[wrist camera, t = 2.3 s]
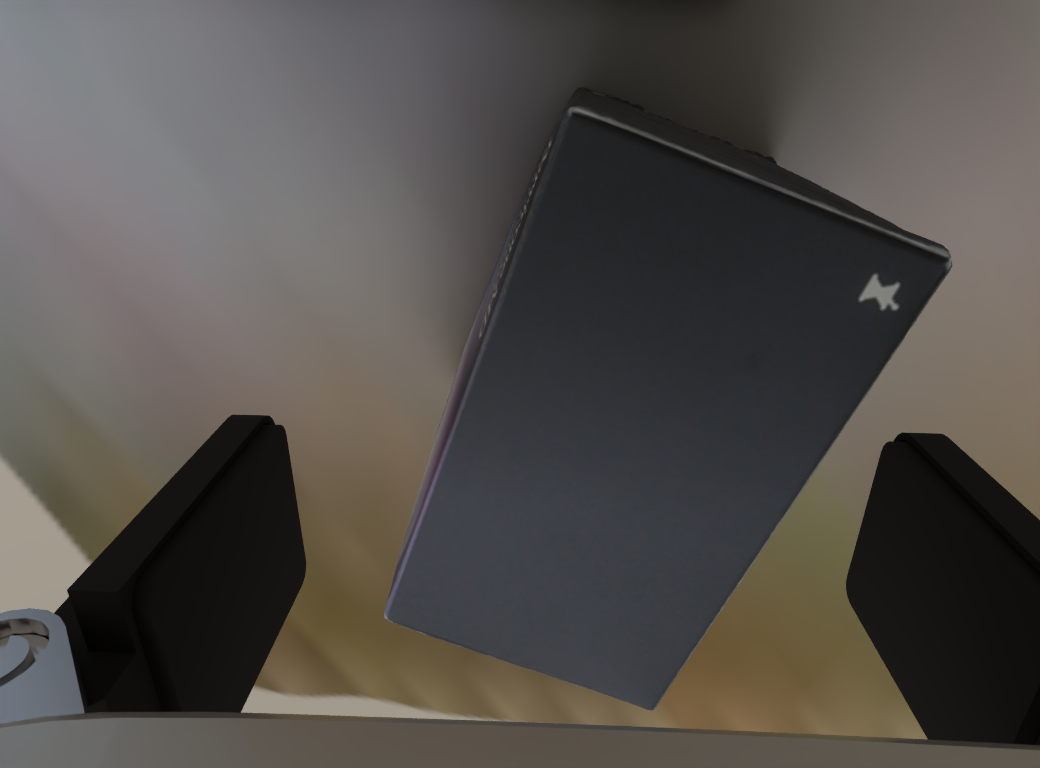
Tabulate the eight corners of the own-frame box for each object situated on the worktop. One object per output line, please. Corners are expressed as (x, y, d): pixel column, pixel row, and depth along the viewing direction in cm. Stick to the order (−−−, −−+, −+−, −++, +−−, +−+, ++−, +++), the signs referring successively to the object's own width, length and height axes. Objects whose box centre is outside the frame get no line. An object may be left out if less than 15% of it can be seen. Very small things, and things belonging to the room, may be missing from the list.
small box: (563, 74, 18) (555, 76, 9) (779, 160, 19) (991, 249, 9) (450, 397, 23) (363, 630, 13) (628, 459, 23) (667, 725, 14)
